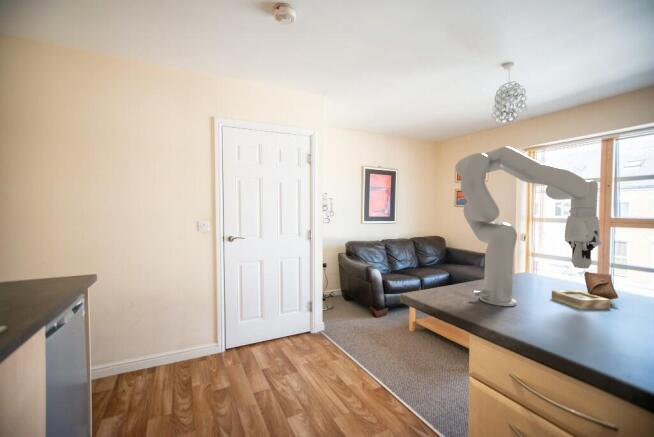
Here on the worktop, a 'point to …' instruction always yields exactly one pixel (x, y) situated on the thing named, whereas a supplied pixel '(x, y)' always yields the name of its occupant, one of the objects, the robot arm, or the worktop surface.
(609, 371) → the worktop surface
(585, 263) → the salt shaker
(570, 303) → the square wooden tray
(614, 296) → the sunglasses case
